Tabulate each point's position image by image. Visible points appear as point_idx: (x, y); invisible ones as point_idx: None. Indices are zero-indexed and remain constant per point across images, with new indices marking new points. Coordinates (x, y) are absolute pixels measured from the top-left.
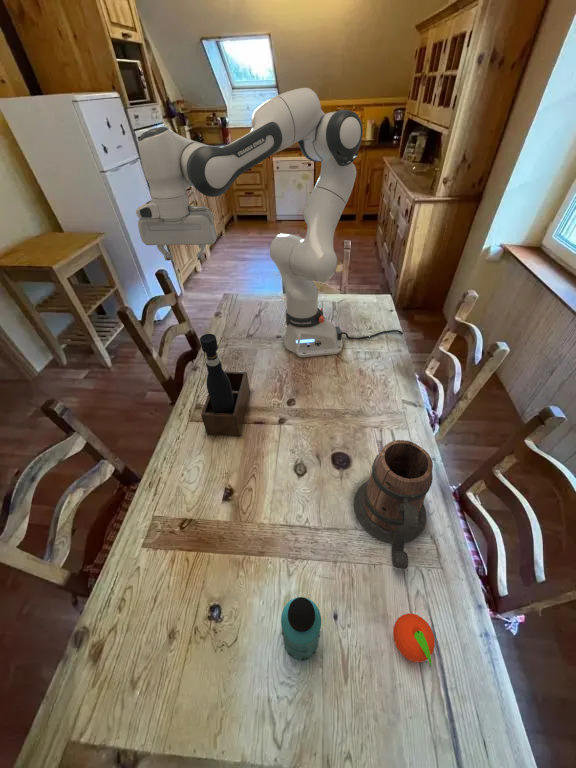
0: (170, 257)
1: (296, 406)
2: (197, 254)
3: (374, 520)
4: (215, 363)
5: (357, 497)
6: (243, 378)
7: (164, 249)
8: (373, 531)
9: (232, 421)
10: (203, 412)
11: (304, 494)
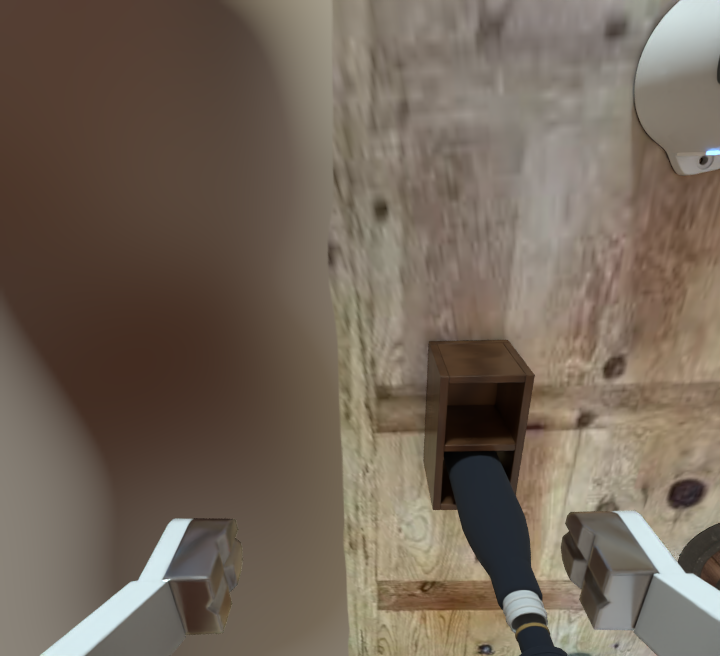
0: (228, 553)
1: (625, 379)
2: (607, 629)
3: None
4: (533, 619)
5: (692, 552)
6: (525, 401)
7: (122, 644)
8: None
9: None
10: (437, 504)
11: None
